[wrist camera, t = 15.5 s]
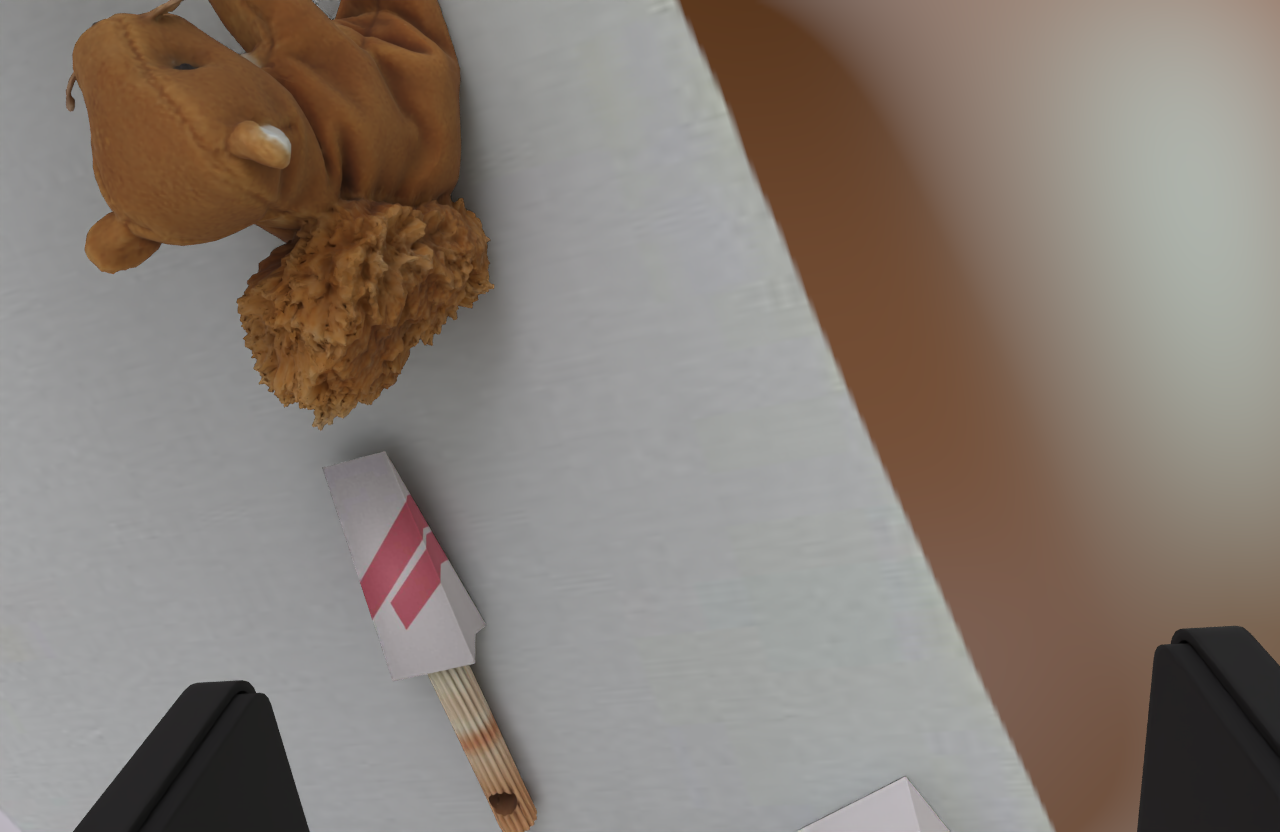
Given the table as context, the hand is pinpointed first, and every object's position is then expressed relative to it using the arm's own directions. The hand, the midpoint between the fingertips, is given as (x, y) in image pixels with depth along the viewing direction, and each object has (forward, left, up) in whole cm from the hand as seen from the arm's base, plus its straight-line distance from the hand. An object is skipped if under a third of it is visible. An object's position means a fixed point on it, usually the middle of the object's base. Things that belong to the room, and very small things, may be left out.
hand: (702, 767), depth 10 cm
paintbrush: (+17, -13, -28) cm, 36 cm away
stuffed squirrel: (-4, -12, -28) cm, 31 cm away
